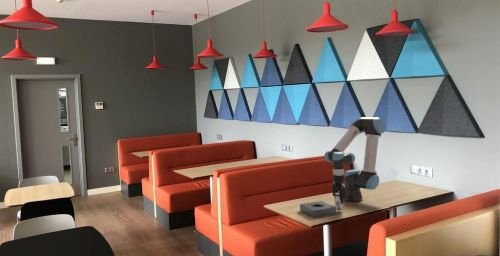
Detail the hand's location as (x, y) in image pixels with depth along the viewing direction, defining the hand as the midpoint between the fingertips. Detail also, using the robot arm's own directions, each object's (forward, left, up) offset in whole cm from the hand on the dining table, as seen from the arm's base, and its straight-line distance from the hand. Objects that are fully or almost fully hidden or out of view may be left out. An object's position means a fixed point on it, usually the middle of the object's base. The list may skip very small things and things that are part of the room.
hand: (339, 207), depth 286 cm
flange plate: (+14, -5, -3) cm, 16 cm away
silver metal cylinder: (0, 0, -2) cm, 2 cm away
